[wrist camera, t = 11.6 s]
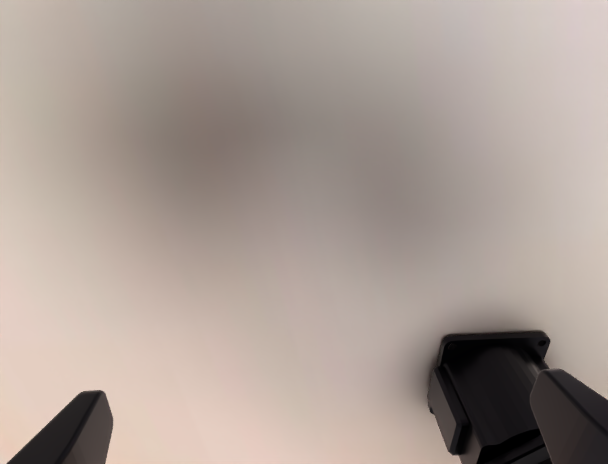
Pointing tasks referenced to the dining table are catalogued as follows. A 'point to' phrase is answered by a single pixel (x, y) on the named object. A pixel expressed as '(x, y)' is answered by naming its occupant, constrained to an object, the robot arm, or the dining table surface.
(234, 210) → the dining table surface
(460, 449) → the robot arm
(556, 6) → the dining table surface
